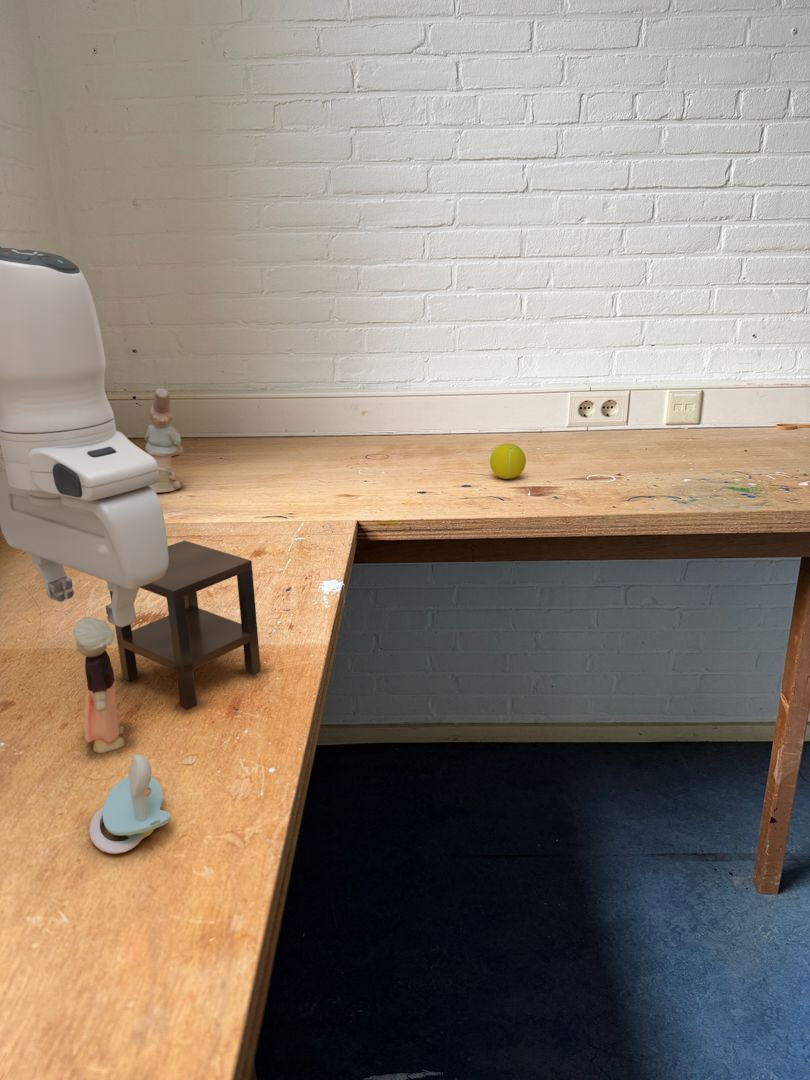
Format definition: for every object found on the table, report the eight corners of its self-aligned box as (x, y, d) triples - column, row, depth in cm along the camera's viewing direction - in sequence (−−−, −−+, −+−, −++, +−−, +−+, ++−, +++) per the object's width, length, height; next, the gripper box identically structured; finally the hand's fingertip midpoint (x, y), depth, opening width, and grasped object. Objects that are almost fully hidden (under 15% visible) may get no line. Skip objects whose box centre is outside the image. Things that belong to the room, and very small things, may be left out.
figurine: (178, 494, 154) (167, 390, 147) (135, 495, 154) (121, 391, 147) (190, 482, 162) (179, 383, 155) (148, 483, 162) (136, 383, 155)
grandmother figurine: (82, 727, 77) (61, 608, 73) (123, 717, 79) (105, 600, 75) (92, 770, 71) (70, 641, 67) (136, 757, 73) (118, 632, 68)
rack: (122, 678, 86) (105, 566, 82) (196, 644, 94) (184, 540, 90) (187, 710, 80) (173, 591, 76) (261, 670, 88) (251, 560, 83)
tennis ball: (482, 478, 162) (483, 444, 160) (505, 471, 166) (506, 438, 164) (508, 484, 157) (509, 449, 155) (531, 478, 161) (533, 444, 159)
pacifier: (96, 871, 59) (177, 843, 62) (80, 802, 57) (165, 776, 60) (86, 813, 66) (160, 790, 68) (71, 749, 63) (149, 727, 66)
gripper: (-36, 450, 69) (-4, 596, 74) (99, 483, 58) (128, 654, 62) (33, 436, 74) (59, 574, 79) (171, 464, 62) (192, 624, 67)
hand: (90, 610), depth 70 cm, fingers open, 8 cm apart
